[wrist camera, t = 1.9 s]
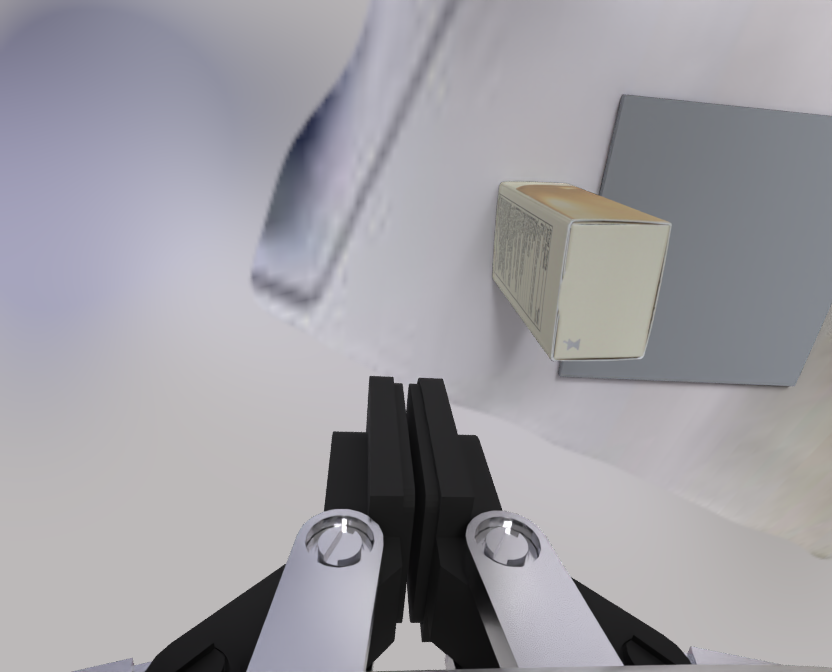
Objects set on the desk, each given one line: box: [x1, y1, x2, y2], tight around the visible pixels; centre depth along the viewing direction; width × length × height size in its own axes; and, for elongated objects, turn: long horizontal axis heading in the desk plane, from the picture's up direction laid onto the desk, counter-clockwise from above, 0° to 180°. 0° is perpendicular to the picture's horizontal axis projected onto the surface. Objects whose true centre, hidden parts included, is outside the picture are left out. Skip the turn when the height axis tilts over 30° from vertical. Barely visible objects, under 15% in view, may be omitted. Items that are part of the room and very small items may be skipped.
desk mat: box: [558, 95, 832, 386], centre depth 34 cm, size 18×18×1 cm
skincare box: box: [492, 182, 672, 361], centre depth 27 cm, size 6×4×12 cm
